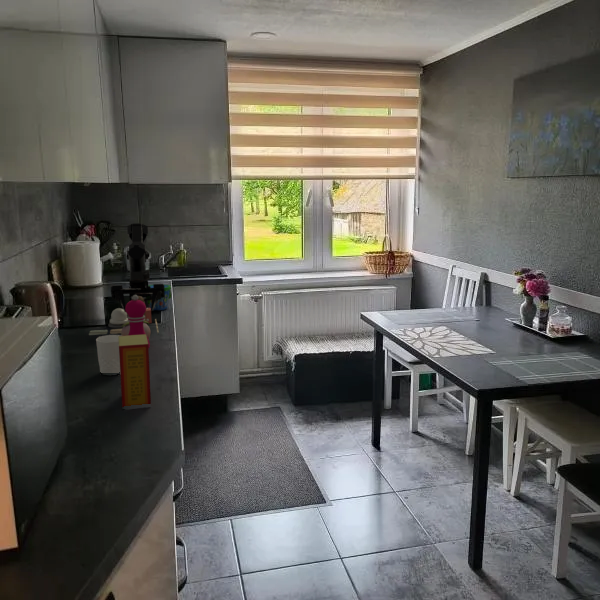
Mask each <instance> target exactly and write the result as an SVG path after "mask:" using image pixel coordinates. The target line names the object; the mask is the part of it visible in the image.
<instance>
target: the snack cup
mask: <svg viewBox="0 0 600 600" xmlns="http://www.w3.org/2000/svg"><path fill="white" fill-rule="evenodd" d="M148 286H150V287H151V288H154V287H153V284H148ZM164 288H165V297H164V298H161V299H159V300H158V301H157V303H156V304H155V306H154V309H153V311H165V310H167V309H168V306H169V302H170V301H169V300H171V298H172V291H171V289H172V286H171V285H169V284H164ZM148 297H149V296H148ZM151 303H152V300H151V301H150V300H148V308H151Z"/></svg>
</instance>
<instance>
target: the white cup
mask: <svg viewBox="0 0 600 600" xmlns="http://www.w3.org/2000/svg"><path fill="white" fill-rule="evenodd" d="M118 336H122V335H121V334H105V335H102V336H98V337H97V338H96V339H95V341H96V351H97V359H98V360H97V361H98V365H99V373H100V372H101V373H119V372H120V358H119V338H118Z"/></svg>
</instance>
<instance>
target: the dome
mask: <svg viewBox="0 0 600 600" xmlns="http://www.w3.org/2000/svg"><path fill="white" fill-rule="evenodd" d="M110 316H111V317H110V318H109V323H111V324H125V323H127V322H129V321H128V314H127V313H126V312H124V309H123V308H120V307H118V308H115V309H113V310H112V312H111V314H110Z"/></svg>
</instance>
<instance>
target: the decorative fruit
mask: <svg viewBox="0 0 600 600" xmlns="http://www.w3.org/2000/svg"><path fill="white" fill-rule="evenodd" d="M149 325H150V323H148V322H147V321H144V322H143V327H144V331H145V333H146V335H147V337H148V339H150V337H151V328H150V326H149ZM123 326H124V327H123ZM122 327H123V328H121V329H122V331H121V333H120V335H122V336H126V335H128V334H129V331H130V323H129V322H127V323H125V324H124V325H122Z"/></svg>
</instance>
